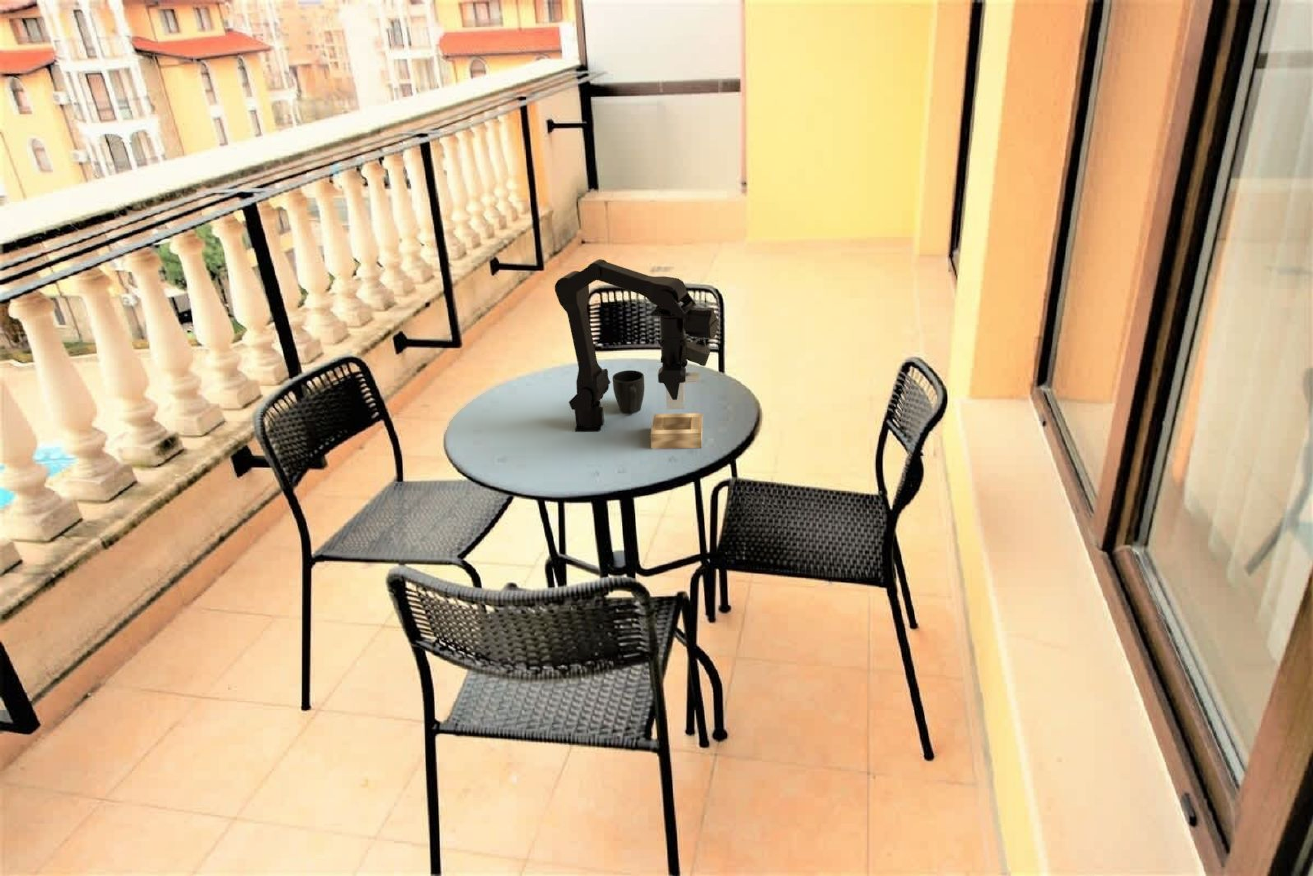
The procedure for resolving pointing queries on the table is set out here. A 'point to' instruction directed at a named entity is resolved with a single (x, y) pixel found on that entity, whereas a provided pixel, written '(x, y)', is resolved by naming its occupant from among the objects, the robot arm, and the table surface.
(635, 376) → the mug
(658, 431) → the well block
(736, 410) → the table surface
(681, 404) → the bracket
